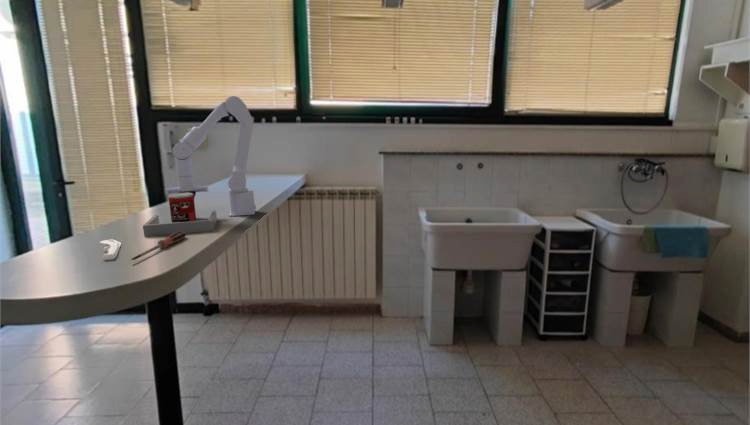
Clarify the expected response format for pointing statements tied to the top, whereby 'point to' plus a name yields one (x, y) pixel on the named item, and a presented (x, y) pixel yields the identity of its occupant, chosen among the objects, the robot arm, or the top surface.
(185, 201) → the canned food
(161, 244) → the screwdriver
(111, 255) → the white elongated piece
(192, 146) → the robot arm
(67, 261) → the top surface
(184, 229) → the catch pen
